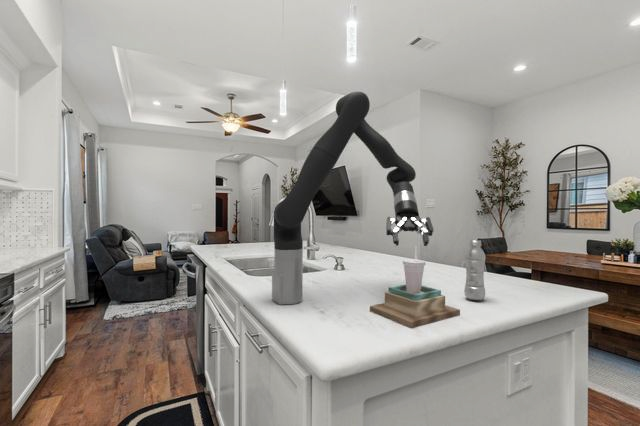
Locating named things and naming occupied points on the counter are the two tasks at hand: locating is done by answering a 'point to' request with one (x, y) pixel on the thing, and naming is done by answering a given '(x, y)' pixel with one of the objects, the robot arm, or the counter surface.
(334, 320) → the counter surface
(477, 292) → the plastic bottle
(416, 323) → the pedestal
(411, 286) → the smoothie
